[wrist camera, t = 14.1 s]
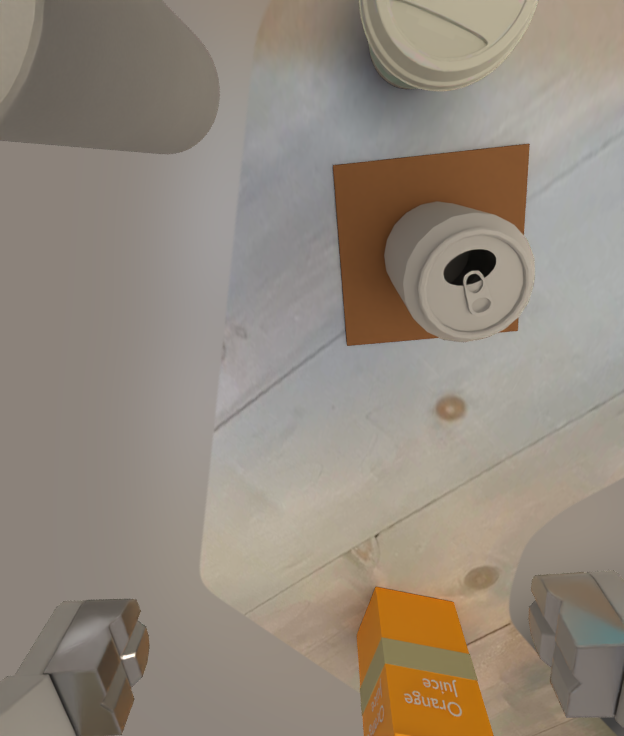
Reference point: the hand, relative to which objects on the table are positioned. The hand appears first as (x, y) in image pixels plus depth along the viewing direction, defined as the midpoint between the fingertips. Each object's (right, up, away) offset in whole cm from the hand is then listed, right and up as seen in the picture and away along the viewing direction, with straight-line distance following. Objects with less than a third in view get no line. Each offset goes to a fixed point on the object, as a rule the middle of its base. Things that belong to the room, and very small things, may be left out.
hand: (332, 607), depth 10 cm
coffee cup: (+6, +27, +23) cm, 36 cm away
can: (+9, +14, +27) cm, 32 cm away
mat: (+9, +14, +28) cm, 32 cm away
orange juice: (+10, -22, +43) cm, 49 cm away
